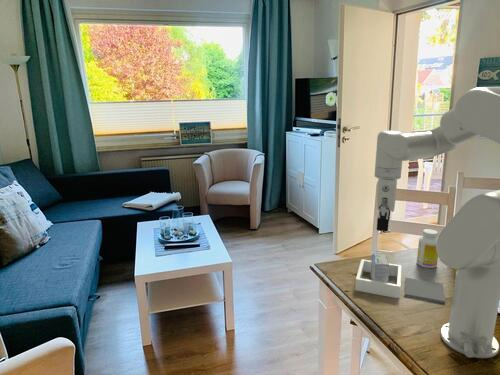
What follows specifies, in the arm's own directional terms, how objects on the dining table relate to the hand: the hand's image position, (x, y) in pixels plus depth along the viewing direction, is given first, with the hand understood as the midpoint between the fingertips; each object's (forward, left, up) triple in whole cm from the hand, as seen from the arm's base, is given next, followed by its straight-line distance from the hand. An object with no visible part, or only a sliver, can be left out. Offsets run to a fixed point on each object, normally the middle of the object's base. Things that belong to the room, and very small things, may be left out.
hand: (383, 225), depth 115 cm
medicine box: (0, 0, -20) cm, 20 cm away
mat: (0, -14, -20) cm, 24 cm away
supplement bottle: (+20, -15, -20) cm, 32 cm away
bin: (0, 0, -20) cm, 20 cm away
